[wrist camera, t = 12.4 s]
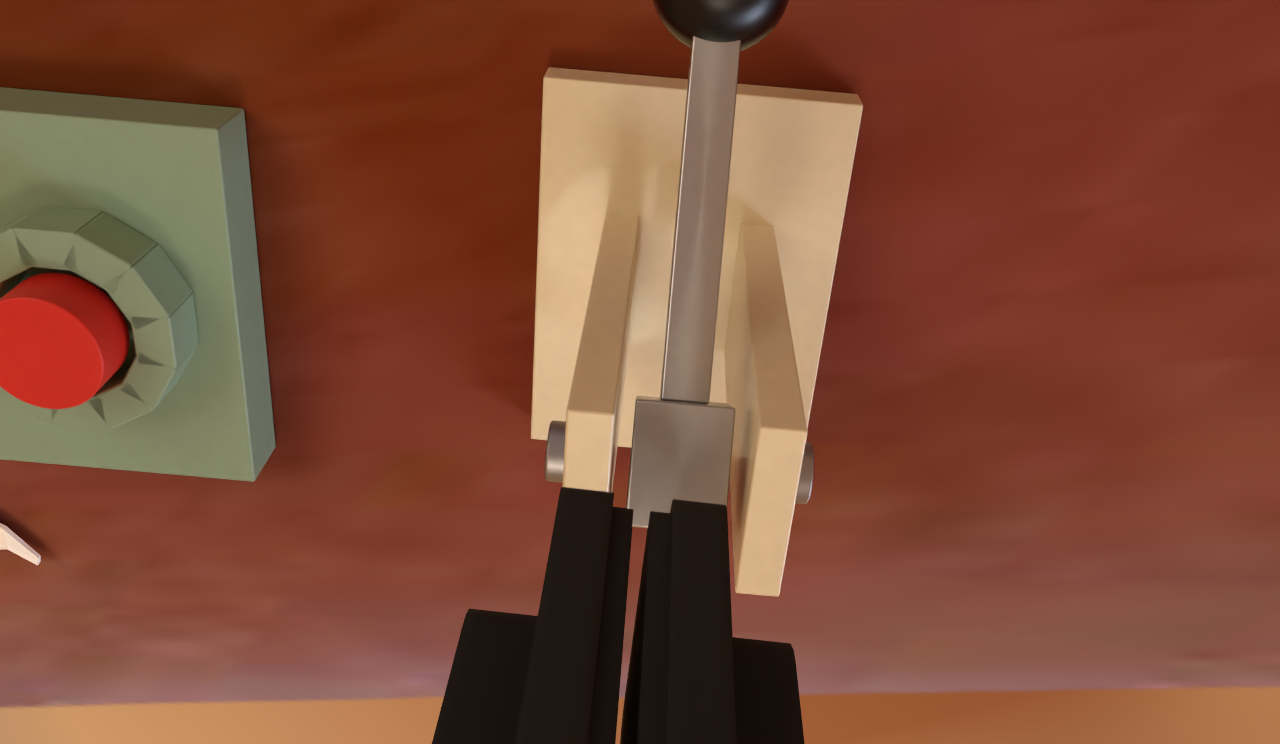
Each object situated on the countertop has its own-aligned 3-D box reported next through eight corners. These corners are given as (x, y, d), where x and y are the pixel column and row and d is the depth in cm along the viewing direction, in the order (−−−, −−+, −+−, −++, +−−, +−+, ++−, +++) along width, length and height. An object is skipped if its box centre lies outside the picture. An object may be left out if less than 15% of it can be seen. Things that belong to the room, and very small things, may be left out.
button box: (-56, 81, 34) (-143, 119, 30) (244, 107, 34) (192, 149, 30) (20, 424, 39) (-47, 489, 36) (276, 447, 39) (235, 514, 36)
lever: (656, -69, 27) (658, -125, 24) (788, -57, 27) (807, -112, 24) (605, 507, 28) (601, 527, 24) (736, 519, 28) (749, 540, 24)
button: (-4, 266, 33) (-38, 291, 31) (121, 277, 33) (92, 303, 31) (20, 375, 34) (-12, 404, 33) (138, 385, 34) (112, 415, 33)
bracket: (548, 66, 33) (470, 229, 21) (858, 93, 33) (942, 270, 21) (535, 420, 38) (468, 694, 27) (798, 443, 38) (840, 728, 27)
